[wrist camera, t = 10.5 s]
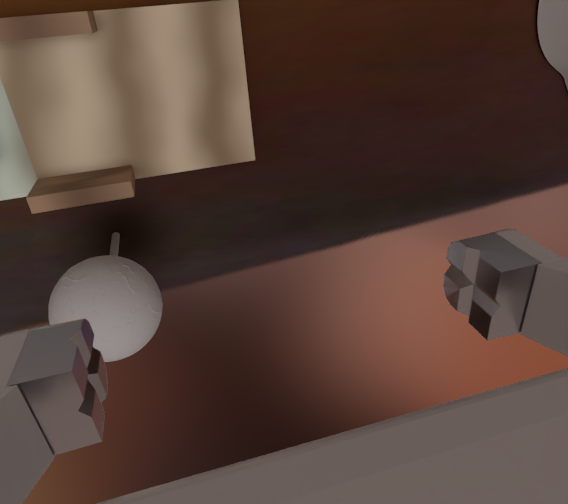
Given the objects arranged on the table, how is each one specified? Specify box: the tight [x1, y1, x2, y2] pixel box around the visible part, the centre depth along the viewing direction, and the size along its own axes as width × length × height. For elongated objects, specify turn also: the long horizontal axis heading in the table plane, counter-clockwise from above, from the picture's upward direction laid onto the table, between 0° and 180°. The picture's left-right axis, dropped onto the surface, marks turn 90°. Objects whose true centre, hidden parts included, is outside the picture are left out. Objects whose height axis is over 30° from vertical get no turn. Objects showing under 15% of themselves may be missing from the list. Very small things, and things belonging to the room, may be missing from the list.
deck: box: [0, 0, 255, 214], centre depth 31 cm, size 35×12×6 cm, turn 95°
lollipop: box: [48, 232, 162, 362], centre depth 33 cm, size 7×7×15 cm
